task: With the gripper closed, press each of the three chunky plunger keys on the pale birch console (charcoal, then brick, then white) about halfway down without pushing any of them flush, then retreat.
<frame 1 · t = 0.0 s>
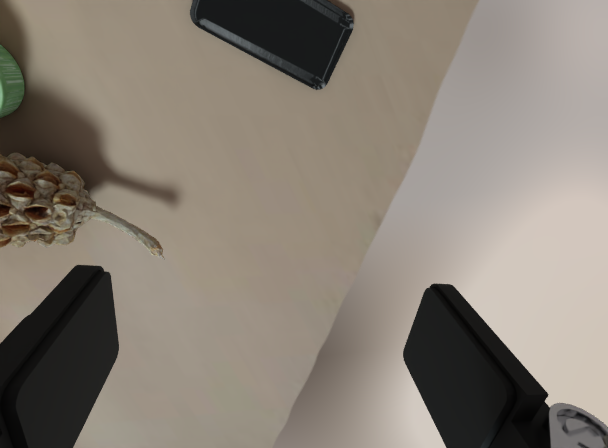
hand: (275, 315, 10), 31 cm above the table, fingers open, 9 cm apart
pine cone: (85, 196, 39), on the table
phone: (274, 21, 34), on the table
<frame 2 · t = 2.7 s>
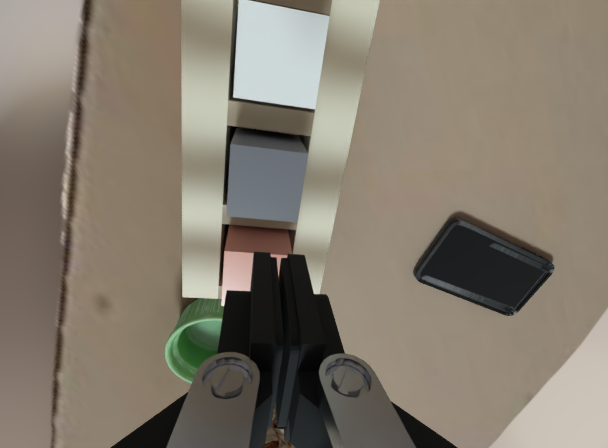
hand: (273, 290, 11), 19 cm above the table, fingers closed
charcoal key: (265, 172, 23), point 6 cm above the table, slide at 0.0 cm
brick key: (256, 260, 25), point 6 cm above the table, slide at 0.0 cm
pine cone: (279, 397, 42), on the table
console: (264, 151, 28), on the table
ramekin: (219, 321, 36), on the table
white key: (277, 58, 20), point 6 cm above the table, slide at 0.0 cm
phone: (480, 265, 37), on the table
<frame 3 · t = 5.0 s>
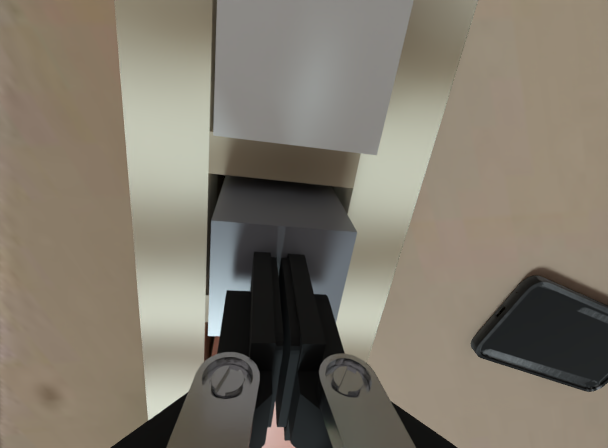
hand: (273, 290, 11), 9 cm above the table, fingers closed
charcoal key: (275, 246, 14), point 6 cm above the table, slide at 0.1 cm, touching gripper
brick key: (260, 370, 16), point 6 cm above the table, slide at 0.0 cm
console: (271, 193, 19), on the table
white key: (299, 56, 11), point 6 cm above the table, slide at 0.0 cm
phone: (557, 331, 28), on the table
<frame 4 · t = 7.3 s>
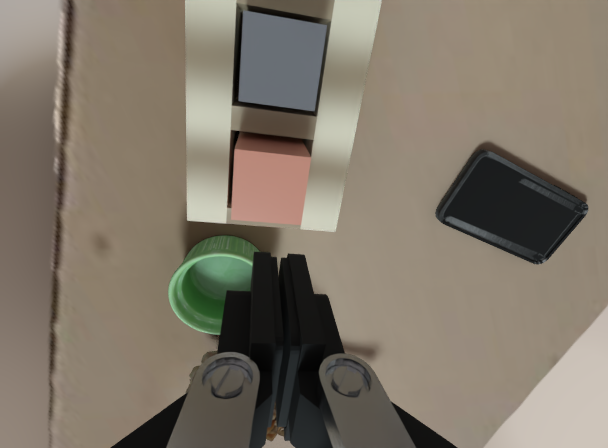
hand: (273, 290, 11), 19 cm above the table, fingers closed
charcoal key: (279, 64, 21), point 5 cm above the table, slide at 1.3 cm
brick key: (269, 175, 23), point 6 cm above the table, slide at 0.0 cm
pine cone: (290, 356, 39), on the table
console: (276, 64, 26), on the table
ramekin: (226, 267, 33), on the table
phone: (507, 207, 34), on the table
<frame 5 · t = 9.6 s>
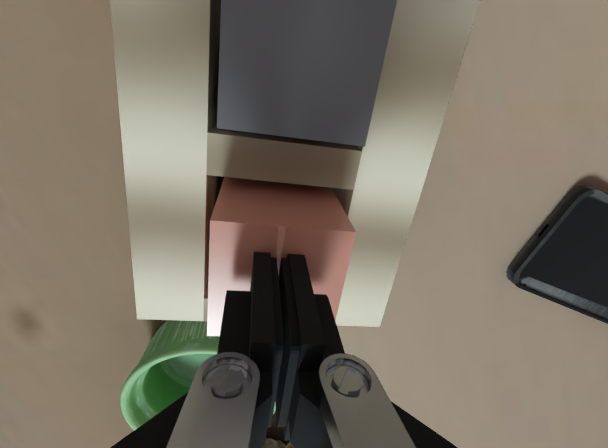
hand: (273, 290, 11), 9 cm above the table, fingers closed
charcoal key: (295, 56, 11), point 5 cm above the table, slide at 1.3 cm
brick key: (274, 246, 14), point 6 cm above the table, slide at 0.3 cm, touching gripper
console: (285, 58, 16), on the table
ramekin: (211, 346, 24), on the table
phone: (602, 261, 25), on the table
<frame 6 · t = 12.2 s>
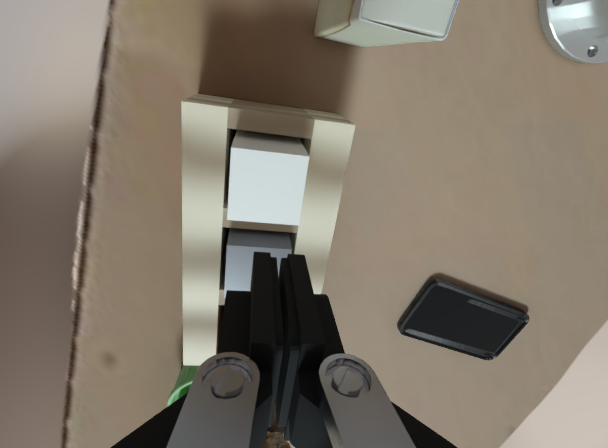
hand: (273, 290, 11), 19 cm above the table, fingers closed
charcoal key: (257, 255, 26), point 5 cm above the table, slide at 1.3 cm
pine cone: (274, 436, 45), on the table
console: (257, 227, 31), on the table
ramekin: (217, 371, 38), on the table
white key: (266, 175, 22), point 6 cm above the table, slide at 0.0 cm
phone: (460, 316, 40), on the table
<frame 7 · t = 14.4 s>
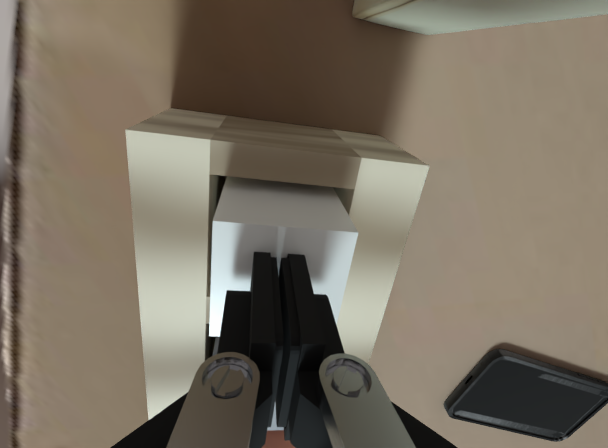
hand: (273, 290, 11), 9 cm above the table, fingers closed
charcoal key: (261, 351, 17), point 5 cm above the table, slide at 1.3 cm
brick key: (251, 435, 20), point 5 cm above the table, slide at 1.3 cm
console: (261, 293, 22), on the table
white key: (276, 246, 14), point 6 cm above the table, slide at 0.2 cm, touching gripper
phone: (524, 390, 31), on the table
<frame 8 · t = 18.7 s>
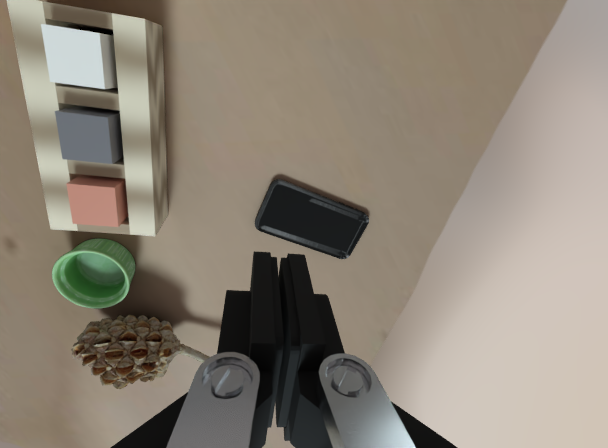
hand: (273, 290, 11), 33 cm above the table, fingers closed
charcoal key: (97, 133, 34), point 5 cm above the table, slide at 1.3 cm
brick key: (104, 196, 37), point 5 cm above the table, slide at 1.3 cm
pine cone: (168, 329, 53), on the table
console: (115, 125, 39), on the table
ramekin: (106, 261, 46), on the table
white key: (88, 58, 31), point 5 cm above the table, slide at 1.3 cm
phone: (312, 218, 48), on the table
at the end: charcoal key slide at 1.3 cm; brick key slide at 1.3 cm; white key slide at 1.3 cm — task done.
